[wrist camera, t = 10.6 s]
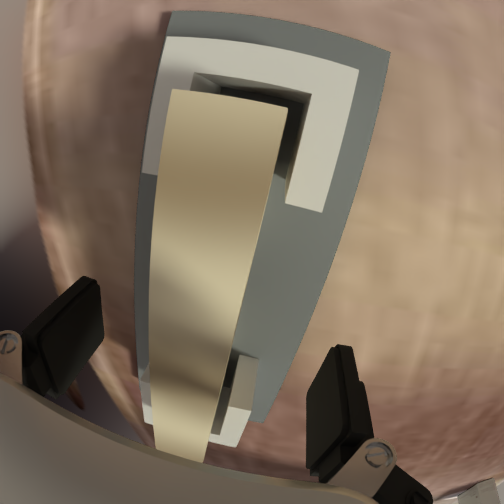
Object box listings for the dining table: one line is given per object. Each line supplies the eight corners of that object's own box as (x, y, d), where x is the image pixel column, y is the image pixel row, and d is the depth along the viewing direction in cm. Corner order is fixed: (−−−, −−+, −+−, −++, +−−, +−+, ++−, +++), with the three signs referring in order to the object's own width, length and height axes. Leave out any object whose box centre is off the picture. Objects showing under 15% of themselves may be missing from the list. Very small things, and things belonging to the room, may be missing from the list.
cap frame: (264, 413, 21) (258, 465, 17) (144, 381, 21) (121, 428, 17) (384, 56, 10) (428, 29, 6) (179, 16, 11) (134, -20, 6)
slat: (223, 379, 18) (200, 470, 12) (188, 370, 18) (156, 457, 12) (286, 117, 12) (288, 108, 5) (231, 106, 12) (172, 89, 5)
